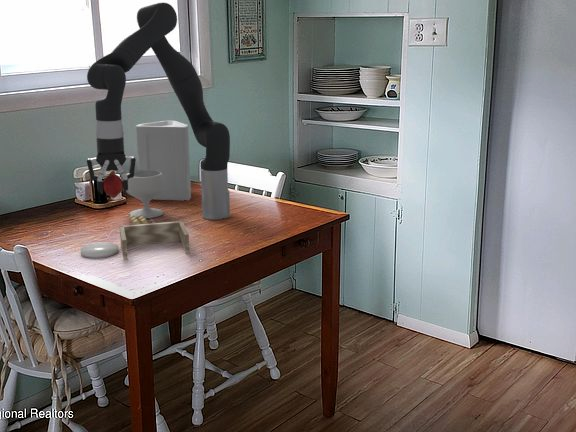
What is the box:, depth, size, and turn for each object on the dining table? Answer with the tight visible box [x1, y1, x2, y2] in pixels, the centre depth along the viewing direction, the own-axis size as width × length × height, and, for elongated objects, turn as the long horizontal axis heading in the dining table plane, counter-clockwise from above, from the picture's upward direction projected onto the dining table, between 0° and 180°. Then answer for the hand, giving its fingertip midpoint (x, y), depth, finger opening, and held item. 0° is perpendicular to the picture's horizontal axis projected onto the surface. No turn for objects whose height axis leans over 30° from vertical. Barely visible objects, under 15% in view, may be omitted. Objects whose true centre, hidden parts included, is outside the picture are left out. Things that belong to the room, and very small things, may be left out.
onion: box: [102, 170, 123, 199], centre depth 201 cm, size 6×6×8 cm
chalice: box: [126, 169, 165, 219], centre depth 242 cm, size 14×14×15 cm
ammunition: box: [128, 214, 156, 225], centre depth 227 cm, size 5×7×8 cm
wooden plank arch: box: [119, 220, 191, 261], centre depth 208 cm, size 19×14×6 cm
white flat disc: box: [80, 241, 120, 259], centre depth 207 cm, size 11×11×1 cm
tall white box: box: [135, 120, 192, 201], centre depth 266 cm, size 19×15×28 cm
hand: (113, 192), depth 202 cm, fingers closed on onion, 6 cm apart
